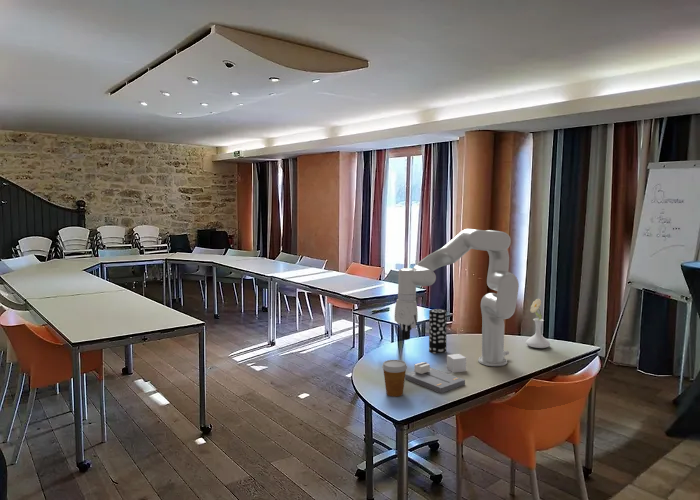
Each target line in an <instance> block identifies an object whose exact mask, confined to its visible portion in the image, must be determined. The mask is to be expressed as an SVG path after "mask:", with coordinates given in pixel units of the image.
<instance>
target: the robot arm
mask: <svg viewBox="0 0 700 500" xmlns="http://www.w3.org/2000/svg"><path fill="white" fill-rule="evenodd" d="M511 242H512V239H511V237H510V234H508V233H507V232H504V231H501V230H500V231H499V230H494V229H493V230H492V229H487V230H483V229H476V228H475V229H474V228H465V229H462V230H461V231H460V232H459V233H458V234H456V235H455V236H454V237H453V238H452V239H451V240H449V241H448V242H447V243H446V244H445V245H443V246H442V247H441V248H439V249H437V250H435V251H434V252H432V253H430V254H428V255H427V256H425V257H424V258H422V259H421V260H420V261H418V262H417V264H415V265H414V266H413V267H412V268H409V267H405V268H404V267H403V268H400V269H399V270H398V281H397V282H398V286H397V290H398V291H397V299H396V301H395V302H396V303H395V308H394V321H395V322H396V323H397V324H398V325H399V327H400V330H401V339H402V340H404V341H407V340H410V339H411V331H412V329H415V328H417V324H418V320H419V318H418V317H419V316H418V305H417V304H418V303H417V299H416V298H417V286H421V287H429V286H432V285H434V284H435V282H436V280H437V275H436V273H435V272H434V271H436V270H438V269H439V268H441V267H445V266H450V265H453V264H455V263H457V262H458V261H459V260H460V259H461V258H463V256H464V255H466V254H467V253H468V252H469V251H471V250H477V251H486V252H487V254H488V256H489V258H488V270H487V277H486V284H487V286H488V288H489V289H490V290H493V291H495V292H496V293H495V292H487V293H486V294H485V295H483V296H482V298H481V301H480V311H481V317H482V318H481V319H482V324H481V325H482V327H481V356H479V357H478V359H477V360H478V363H480V364H481V365H484V366H487V367H488V366H489V367H504V366H505V365H507V363H508V359H506V358H505V356H508V355H509V354H510V351H509V350H505V348H504V347H505V346H504V344H505V320H507V319H510V318H511V317H512V316H514V314H515V313H516V312H515V311H516V307H517V302H518V296H519V295H518V294H519V287H520V284H519V283H520V282H519V280H518V278H517V276H516V275H515V274H514V273H513V272H510V271H509V270H510V269H509V267H510V255H509V250H508V249H509V247H510V246H511Z"/></svg>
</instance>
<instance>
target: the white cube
mask: <svg viewBox="0 0 700 500" xmlns="http://www.w3.org/2000/svg"><path fill="white" fill-rule="evenodd" d="M446 368H447V370H449V371H450V372H452V373H460V372H466V371H467V357H466V356H464V355H462V354H461V353H453V354H446Z"/></svg>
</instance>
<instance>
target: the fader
mask: <svg viewBox="0 0 700 500" xmlns="http://www.w3.org/2000/svg"><path fill="white" fill-rule="evenodd" d="M430 367H431V365H430V363H428V362H427V361H425V362H424V361H422V362H418V363H416V364H414V367H413V368H414V369H413V370H414V371H415V372H417V373H420V374H423V373H426V372H429V371H430Z"/></svg>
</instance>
